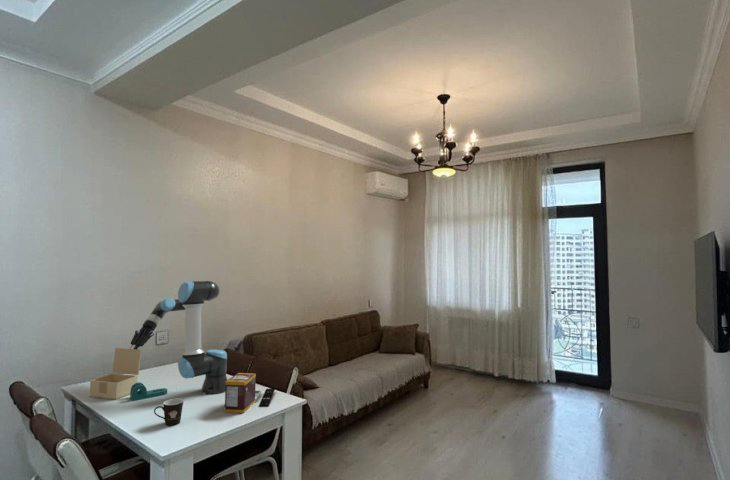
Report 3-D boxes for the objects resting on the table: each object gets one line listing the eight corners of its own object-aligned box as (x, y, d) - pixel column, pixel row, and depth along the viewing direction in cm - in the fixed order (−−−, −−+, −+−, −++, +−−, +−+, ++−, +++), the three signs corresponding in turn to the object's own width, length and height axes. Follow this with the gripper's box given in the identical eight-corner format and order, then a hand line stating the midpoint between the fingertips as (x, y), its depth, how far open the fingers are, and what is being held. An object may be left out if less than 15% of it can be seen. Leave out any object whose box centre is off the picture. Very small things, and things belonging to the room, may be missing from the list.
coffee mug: (185, 419, 186) (186, 398, 187) (177, 427, 177) (178, 405, 178) (161, 419, 186) (162, 398, 186) (152, 427, 177) (153, 405, 178)
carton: (115, 400, 210) (116, 383, 211) (89, 396, 214) (89, 380, 215) (136, 391, 224) (137, 375, 224) (111, 388, 228) (112, 373, 228)
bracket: (132, 401, 209) (132, 386, 209) (130, 398, 214) (130, 383, 214) (168, 394, 220) (169, 380, 221) (165, 391, 225) (166, 377, 226)
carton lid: (140, 350, 226) (141, 349, 227) (115, 348, 231) (116, 347, 231) (137, 375, 225) (138, 374, 225) (112, 372, 229) (113, 372, 229)
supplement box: (255, 402, 210) (256, 373, 211) (243, 413, 194) (244, 382, 195) (237, 401, 211) (238, 372, 212) (224, 412, 196) (225, 381, 196)
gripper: (163, 326, 248) (141, 359, 231) (146, 325, 251) (123, 358, 234) (157, 319, 243) (134, 353, 226) (139, 318, 246) (116, 351, 229)
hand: (128, 355), depth 230 cm, fingers closed
